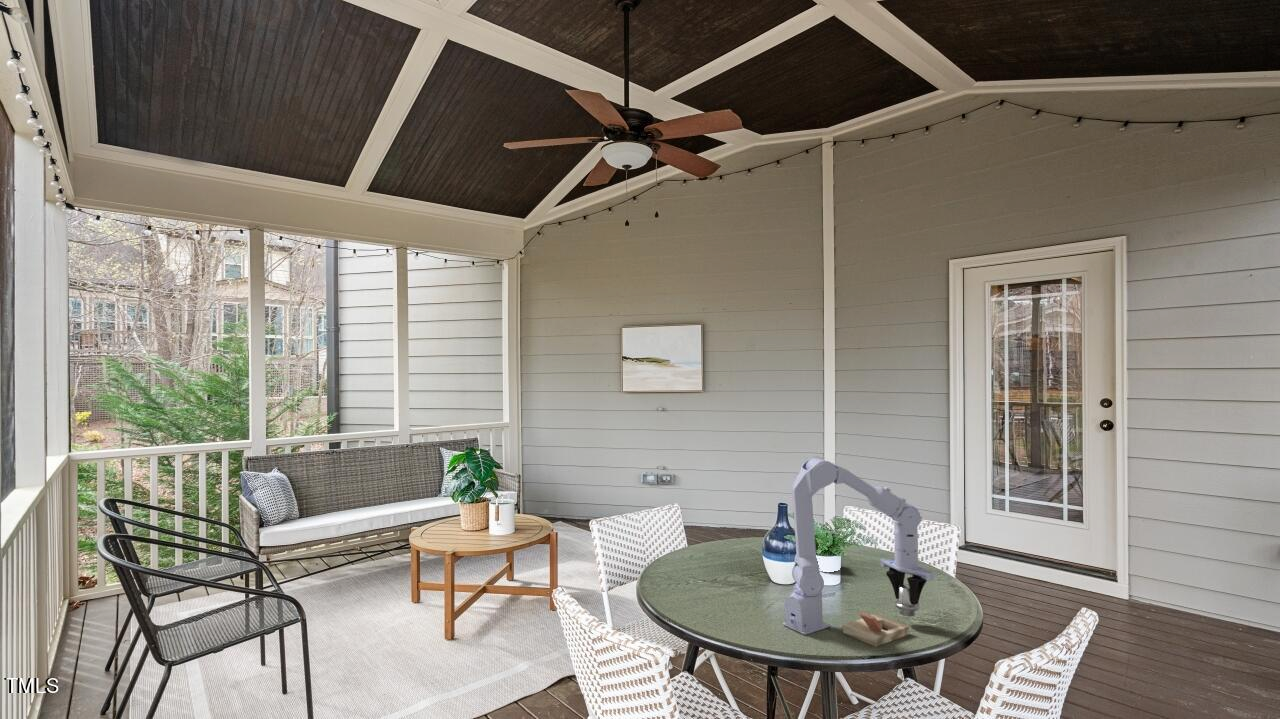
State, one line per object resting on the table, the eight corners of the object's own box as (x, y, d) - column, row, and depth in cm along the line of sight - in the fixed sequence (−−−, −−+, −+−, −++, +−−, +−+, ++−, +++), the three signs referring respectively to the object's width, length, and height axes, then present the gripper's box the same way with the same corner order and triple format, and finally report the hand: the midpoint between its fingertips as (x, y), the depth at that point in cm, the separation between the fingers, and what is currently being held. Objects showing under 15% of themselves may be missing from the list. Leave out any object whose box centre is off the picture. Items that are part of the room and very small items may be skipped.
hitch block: (875, 646, 153) (875, 638, 153) (843, 632, 162) (842, 624, 162) (909, 634, 160) (909, 626, 160) (876, 621, 169) (876, 613, 169)
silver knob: (910, 619, 162) (909, 592, 162) (890, 612, 167) (890, 585, 167) (924, 614, 165) (923, 587, 165) (904, 607, 170) (904, 581, 170)
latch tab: (872, 619, 156) (874, 616, 156) (859, 614, 159) (861, 611, 160) (880, 630, 157) (882, 628, 158) (867, 625, 161) (868, 622, 161)
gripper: (940, 553, 162) (941, 606, 162) (892, 540, 175) (892, 589, 175) (924, 557, 159) (924, 612, 159) (875, 544, 171) (876, 594, 171)
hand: (907, 600), depth 166 cm, fingers closed on silver knob, 4 cm apart
